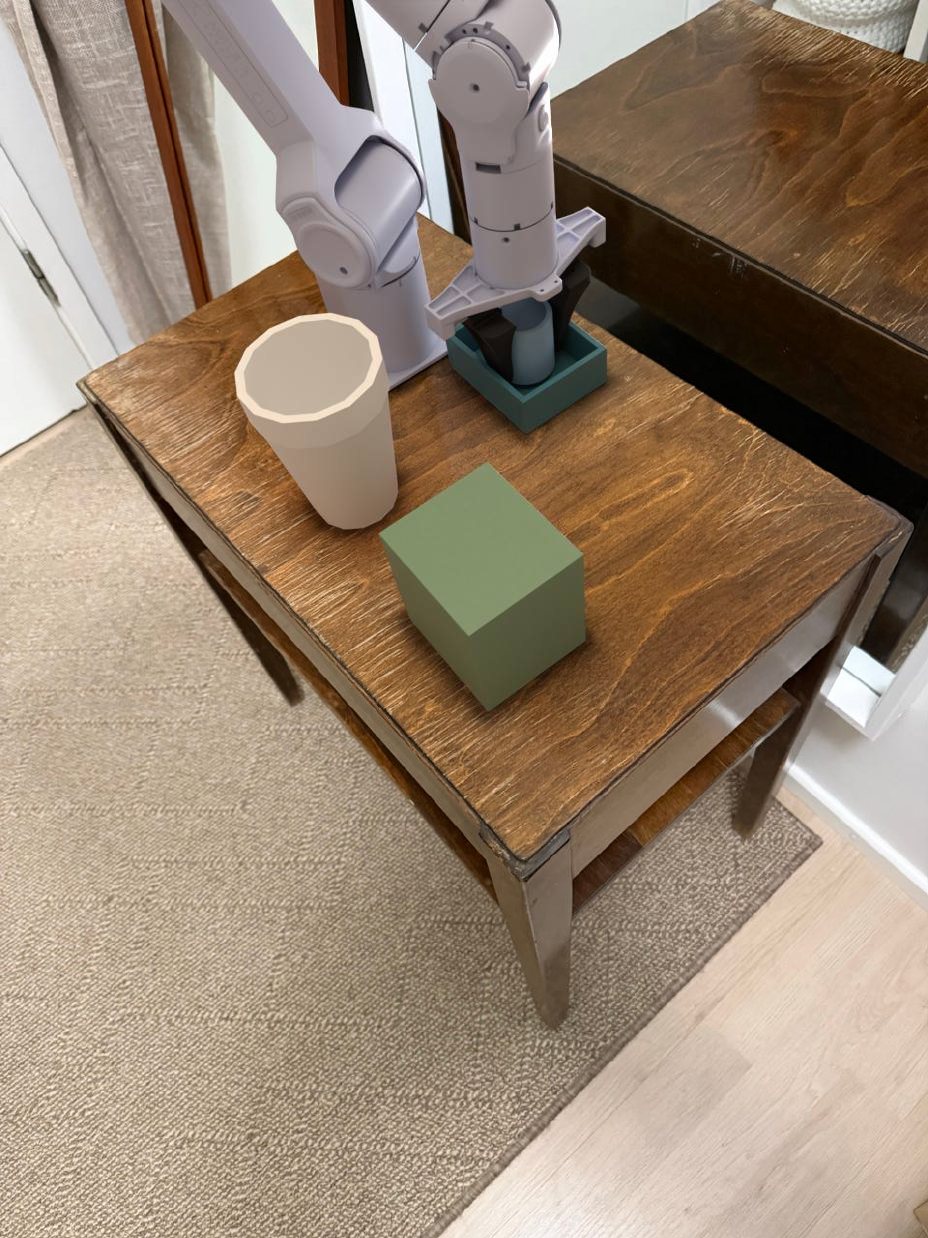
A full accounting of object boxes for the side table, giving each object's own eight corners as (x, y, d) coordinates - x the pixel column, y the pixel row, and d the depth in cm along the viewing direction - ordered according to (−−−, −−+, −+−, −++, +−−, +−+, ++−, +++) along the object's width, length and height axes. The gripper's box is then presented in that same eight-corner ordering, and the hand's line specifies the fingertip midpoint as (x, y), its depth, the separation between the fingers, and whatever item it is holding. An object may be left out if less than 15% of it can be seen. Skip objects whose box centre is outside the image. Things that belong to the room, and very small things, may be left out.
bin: (450, 366, 71) (443, 333, 68) (527, 317, 73) (524, 283, 70) (526, 434, 67) (522, 403, 64) (607, 381, 68) (607, 348, 65)
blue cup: (487, 363, 70) (480, 312, 65) (531, 336, 71) (526, 284, 66) (521, 393, 68) (516, 343, 63) (566, 365, 68) (564, 313, 64)
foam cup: (354, 429, 69) (307, 294, 58) (443, 479, 66) (412, 346, 54) (270, 510, 66) (204, 384, 55) (359, 568, 62) (307, 446, 51)
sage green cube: (409, 618, 60) (377, 533, 51) (502, 554, 61) (486, 461, 53) (488, 712, 56) (468, 636, 47) (586, 640, 57) (584, 554, 49)
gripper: (456, 287, 54) (482, 437, 65) (637, 177, 57) (631, 340, 68) (393, 235, 57) (428, 387, 69) (567, 134, 60) (572, 296, 72)
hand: (525, 360), depth 69 cm, fingers closed on blue cup, 4 cm apart
